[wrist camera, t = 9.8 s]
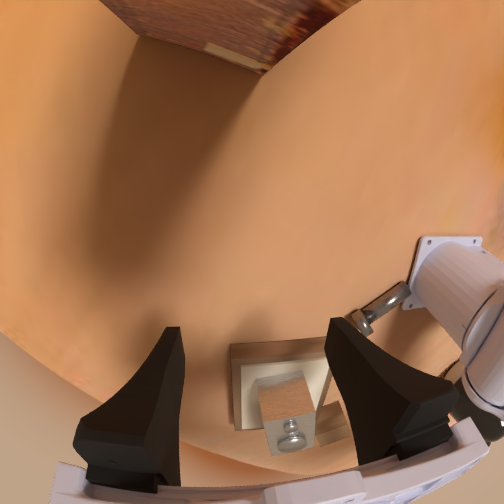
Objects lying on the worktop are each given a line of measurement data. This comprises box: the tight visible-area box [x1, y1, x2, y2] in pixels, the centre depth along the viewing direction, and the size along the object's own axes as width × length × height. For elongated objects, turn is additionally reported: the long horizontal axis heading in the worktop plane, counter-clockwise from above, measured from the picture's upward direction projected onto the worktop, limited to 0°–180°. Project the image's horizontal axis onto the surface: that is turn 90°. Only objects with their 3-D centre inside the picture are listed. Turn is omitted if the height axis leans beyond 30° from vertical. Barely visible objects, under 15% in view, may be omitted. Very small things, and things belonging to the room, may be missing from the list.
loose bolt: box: [351, 281, 412, 337], centre depth 25 cm, size 6×3×3 cm, turn 125°
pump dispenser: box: [444, 361, 504, 447], centre depth 29 cm, size 10×10×15 cm
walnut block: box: [315, 401, 349, 447], centre depth 32 cm, size 4×4×4 cm
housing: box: [256, 370, 316, 456], centre depth 25 cm, size 4×8×6 cm, turn 8°
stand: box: [230, 336, 332, 431], centre depth 29 cm, size 10×13×2 cm
